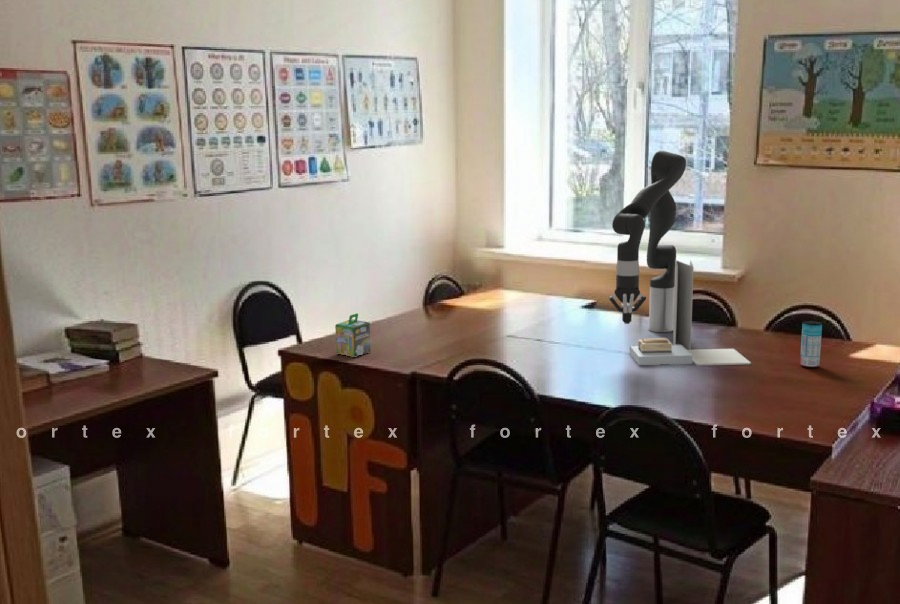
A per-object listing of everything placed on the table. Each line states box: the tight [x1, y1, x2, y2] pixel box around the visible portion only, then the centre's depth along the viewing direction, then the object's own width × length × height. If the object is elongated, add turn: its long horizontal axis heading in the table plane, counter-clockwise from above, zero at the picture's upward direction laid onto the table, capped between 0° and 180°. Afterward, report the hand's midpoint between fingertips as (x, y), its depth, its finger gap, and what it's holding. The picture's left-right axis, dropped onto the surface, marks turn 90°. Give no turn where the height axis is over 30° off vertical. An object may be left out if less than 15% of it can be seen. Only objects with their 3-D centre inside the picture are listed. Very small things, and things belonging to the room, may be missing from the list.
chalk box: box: [334, 313, 371, 356], centre depth 317 cm, size 9×9×15 cm
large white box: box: [629, 343, 693, 366], centre depth 303 cm, size 14×18×3 cm
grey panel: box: [672, 259, 695, 350], centre depth 317 cm, size 14×6×30 cm, turn 168°
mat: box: [686, 348, 752, 367], centre depth 303 cm, size 18×18×1 cm
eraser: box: [637, 337, 673, 353], centre depth 302 cm, size 6×10×4 cm, turn 90°
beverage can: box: [799, 319, 823, 369], centre depth 288 cm, size 6×6×15 cm
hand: (626, 323), depth 300 cm, fingers closed
